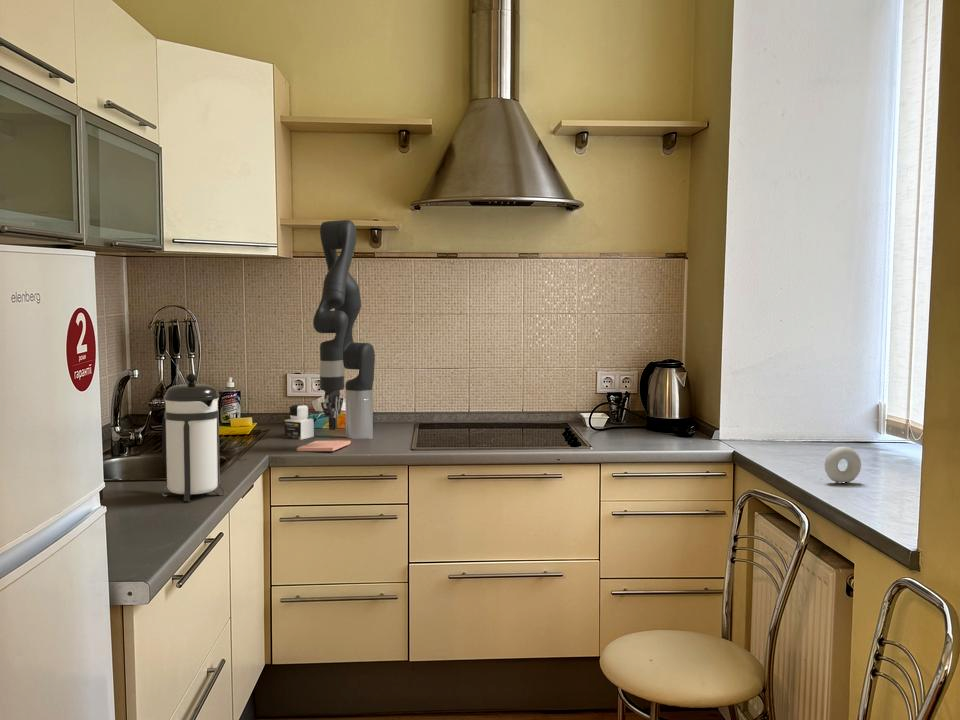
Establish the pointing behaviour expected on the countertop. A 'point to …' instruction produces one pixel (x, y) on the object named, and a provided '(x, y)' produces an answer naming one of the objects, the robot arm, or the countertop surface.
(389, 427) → the countertop surface
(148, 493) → the countertop surface
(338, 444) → the book
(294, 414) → the medicine bottle
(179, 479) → the coffee press
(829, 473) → the donut
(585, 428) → the countertop surface
